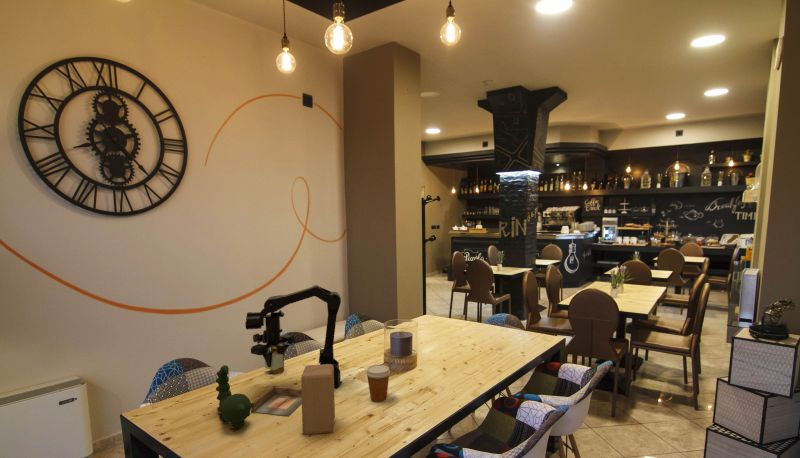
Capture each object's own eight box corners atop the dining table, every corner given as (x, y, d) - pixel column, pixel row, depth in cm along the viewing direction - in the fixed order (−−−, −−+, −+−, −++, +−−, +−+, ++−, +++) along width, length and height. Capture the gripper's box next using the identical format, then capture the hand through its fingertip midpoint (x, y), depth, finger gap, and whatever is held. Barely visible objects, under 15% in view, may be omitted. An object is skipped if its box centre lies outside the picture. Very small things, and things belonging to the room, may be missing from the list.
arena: (307, 397, 158) (307, 389, 158) (288, 416, 143) (288, 407, 143) (273, 394, 162) (273, 385, 162) (251, 412, 147) (250, 403, 147)
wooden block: (306, 420, 141) (305, 364, 140) (335, 418, 142) (333, 362, 141) (302, 435, 131) (300, 375, 130) (332, 433, 132) (331, 374, 131)
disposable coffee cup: (372, 406, 150) (371, 375, 149) (362, 396, 158) (362, 366, 158) (395, 400, 154) (394, 370, 154) (384, 391, 163) (383, 362, 162)
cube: (283, 366, 166) (282, 354, 166) (273, 370, 162) (273, 357, 161) (274, 364, 168) (274, 352, 168) (265, 368, 164) (264, 355, 164)
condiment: (286, 373, 184) (286, 347, 184) (268, 377, 179) (267, 351, 179) (282, 368, 190) (281, 343, 190) (263, 372, 185) (263, 346, 185)
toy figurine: (210, 417, 147) (229, 440, 128) (207, 365, 148) (226, 380, 129) (236, 409, 153) (259, 429, 134) (233, 359, 154) (255, 372, 135)
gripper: (276, 320, 177) (277, 354, 177) (240, 331, 160) (242, 369, 161) (294, 322, 171) (296, 358, 171) (259, 334, 155) (261, 374, 155)
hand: (274, 364), depth 165 cm, fingers closed on cube, 5 cm apart
